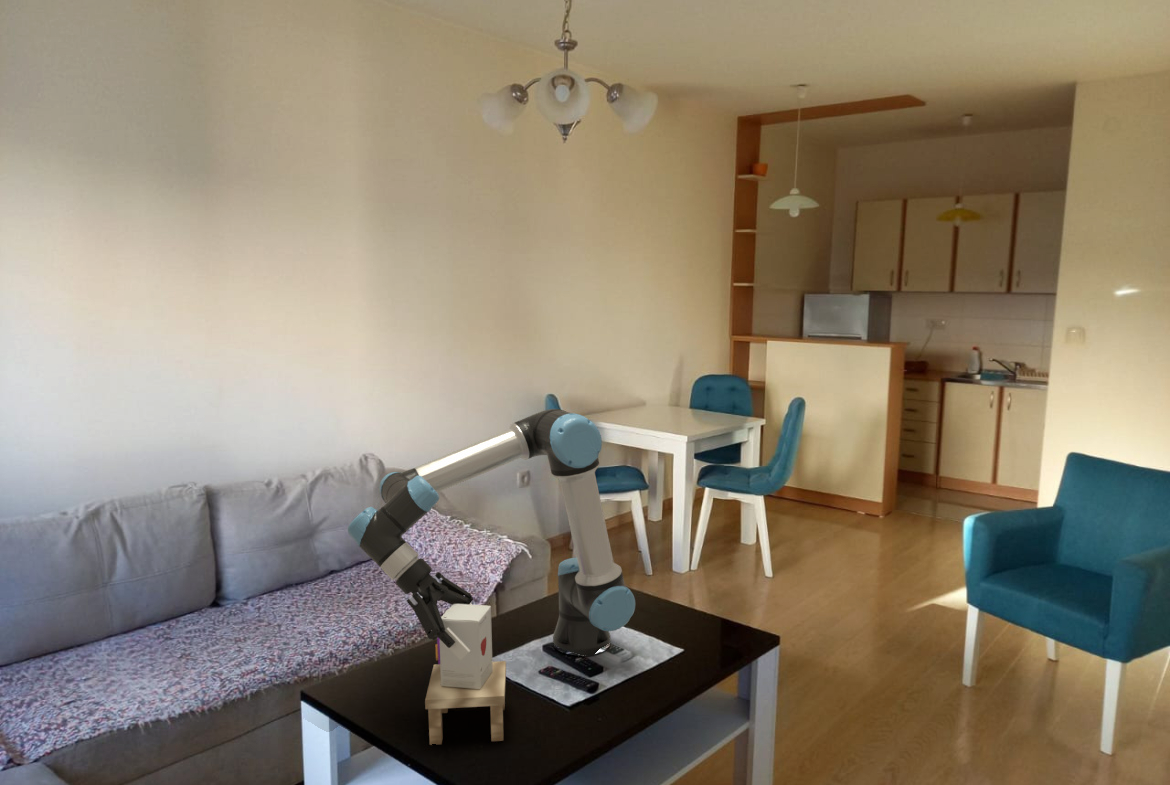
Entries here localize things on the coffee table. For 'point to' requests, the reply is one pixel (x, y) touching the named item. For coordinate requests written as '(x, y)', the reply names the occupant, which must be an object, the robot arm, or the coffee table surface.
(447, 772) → the coffee table surface
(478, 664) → the supplement box
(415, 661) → the coffee table surface
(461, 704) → the low wooden platform
